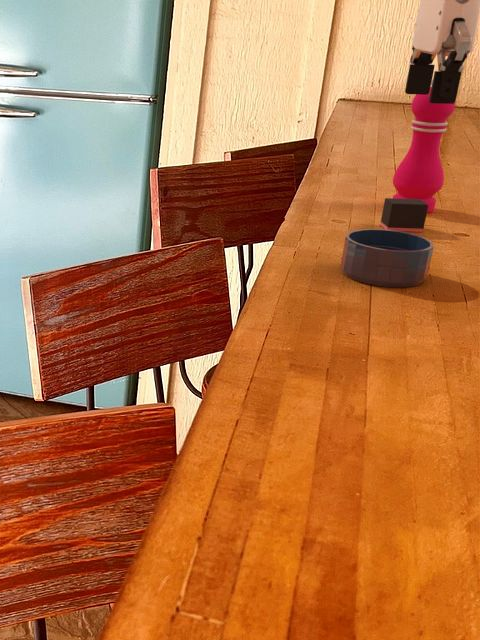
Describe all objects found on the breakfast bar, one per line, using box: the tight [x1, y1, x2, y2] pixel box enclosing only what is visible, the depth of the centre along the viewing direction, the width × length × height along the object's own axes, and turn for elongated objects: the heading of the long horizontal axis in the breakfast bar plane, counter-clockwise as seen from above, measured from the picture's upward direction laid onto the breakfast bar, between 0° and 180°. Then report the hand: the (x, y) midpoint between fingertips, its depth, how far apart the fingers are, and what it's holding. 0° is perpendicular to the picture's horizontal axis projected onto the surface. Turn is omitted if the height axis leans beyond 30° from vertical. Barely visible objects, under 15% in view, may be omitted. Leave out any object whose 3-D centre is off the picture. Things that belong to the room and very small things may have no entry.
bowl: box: [340, 228, 435, 288], centre depth 107 cm, size 10×10×4 cm
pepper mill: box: [392, 78, 456, 214], centre depth 136 cm, size 7×7×20 cm
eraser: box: [379, 197, 428, 233], centre depth 128 cm, size 5×3×4 cm
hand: (428, 98), depth 121 cm, fingers open, 9 cm apart
